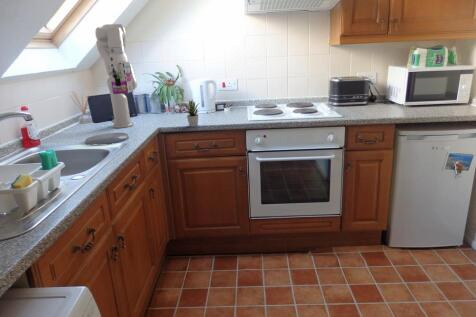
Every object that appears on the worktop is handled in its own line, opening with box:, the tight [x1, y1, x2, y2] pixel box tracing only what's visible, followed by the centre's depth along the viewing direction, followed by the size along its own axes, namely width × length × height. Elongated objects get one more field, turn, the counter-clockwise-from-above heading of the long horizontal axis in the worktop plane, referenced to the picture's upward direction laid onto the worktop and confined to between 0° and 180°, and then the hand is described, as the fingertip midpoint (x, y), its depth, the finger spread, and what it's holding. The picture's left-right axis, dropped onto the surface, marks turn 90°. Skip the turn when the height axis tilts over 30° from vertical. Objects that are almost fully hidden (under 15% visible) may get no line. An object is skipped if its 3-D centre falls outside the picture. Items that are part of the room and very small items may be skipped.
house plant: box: [182, 99, 200, 127], centre depth 216 cm, size 14×14×16 cm
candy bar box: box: [109, 61, 134, 95], centre depth 196 cm, size 11×5×16 cm, turn 64°
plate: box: [85, 132, 130, 145], centre depth 192 cm, size 22×22×2 cm
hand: (122, 85), depth 197 cm, fingers closed on candy bar box, 5 cm apart
